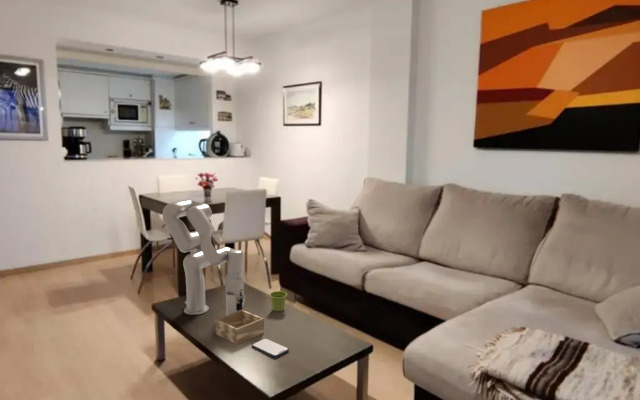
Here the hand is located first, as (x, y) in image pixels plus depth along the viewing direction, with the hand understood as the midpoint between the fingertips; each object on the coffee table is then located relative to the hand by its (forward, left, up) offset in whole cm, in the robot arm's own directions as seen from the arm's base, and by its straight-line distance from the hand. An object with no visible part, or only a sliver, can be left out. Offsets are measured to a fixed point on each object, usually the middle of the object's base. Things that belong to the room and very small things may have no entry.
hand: (234, 307), depth 216 cm
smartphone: (+38, -11, -6) cm, 40 cm away
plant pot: (+9, +22, -6) cm, 24 cm away
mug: (0, 0, -4) cm, 4 cm away
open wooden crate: (+16, -10, -5) cm, 19 cm away
